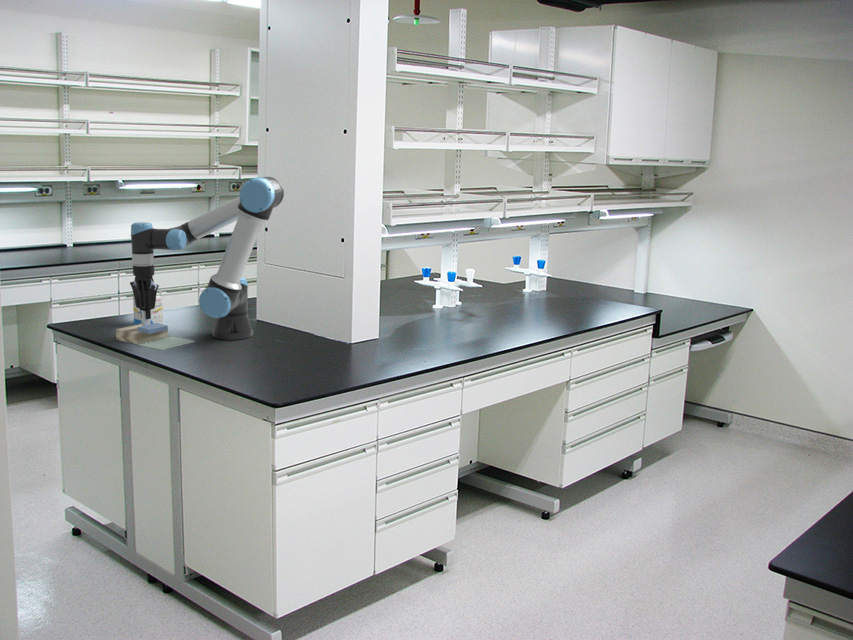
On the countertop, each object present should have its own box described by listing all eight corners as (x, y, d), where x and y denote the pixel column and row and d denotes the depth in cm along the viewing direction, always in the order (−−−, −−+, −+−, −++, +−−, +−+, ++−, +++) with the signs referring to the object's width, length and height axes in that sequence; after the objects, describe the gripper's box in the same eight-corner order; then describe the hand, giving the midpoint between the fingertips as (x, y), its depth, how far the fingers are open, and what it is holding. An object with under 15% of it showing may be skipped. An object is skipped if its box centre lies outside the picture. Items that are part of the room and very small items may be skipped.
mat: (194, 341, 302) (194, 341, 302) (161, 350, 289) (161, 349, 289) (171, 337, 308) (171, 336, 308) (138, 345, 294) (138, 344, 294)
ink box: (145, 327, 322) (144, 298, 320) (133, 324, 327) (132, 296, 325) (164, 324, 329) (163, 296, 327) (151, 321, 334) (150, 293, 332)
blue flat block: (167, 329, 303) (167, 325, 303) (148, 334, 296) (148, 329, 295) (156, 327, 306) (156, 322, 306) (137, 331, 298) (137, 326, 298)
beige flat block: (168, 337, 308) (167, 327, 307) (138, 344, 296) (137, 333, 295) (146, 332, 314) (145, 322, 313) (116, 339, 302) (115, 329, 301)
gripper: (163, 265, 298) (166, 327, 303) (139, 262, 304) (142, 323, 309) (147, 267, 291) (150, 331, 296) (123, 264, 298) (126, 326, 303)
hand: (146, 327), depth 303 cm, fingers closed
